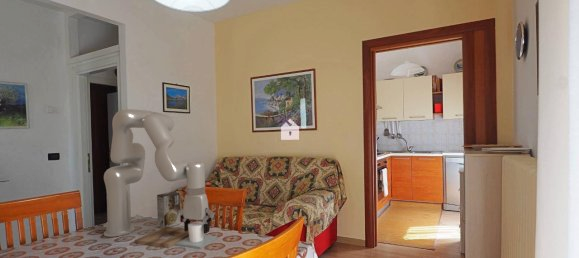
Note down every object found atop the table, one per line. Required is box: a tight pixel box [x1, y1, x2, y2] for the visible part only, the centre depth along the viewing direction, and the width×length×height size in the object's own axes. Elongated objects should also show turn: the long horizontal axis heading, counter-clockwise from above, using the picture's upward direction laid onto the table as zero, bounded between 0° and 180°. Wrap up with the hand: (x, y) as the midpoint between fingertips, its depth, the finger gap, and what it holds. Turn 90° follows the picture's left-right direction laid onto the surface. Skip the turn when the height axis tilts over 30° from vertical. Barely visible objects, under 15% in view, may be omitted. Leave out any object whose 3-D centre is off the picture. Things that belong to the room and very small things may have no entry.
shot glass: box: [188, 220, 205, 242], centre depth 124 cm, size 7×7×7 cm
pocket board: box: [134, 226, 189, 249], centre depth 129 cm, size 18×18×2 cm
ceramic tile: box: [175, 234, 218, 249], centre depth 124 cm, size 12×12×1 cm
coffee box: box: [156, 191, 181, 229], centre depth 147 cm, size 9×6×16 cm
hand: (196, 231), depth 124 cm, fingers open, 9 cm apart
